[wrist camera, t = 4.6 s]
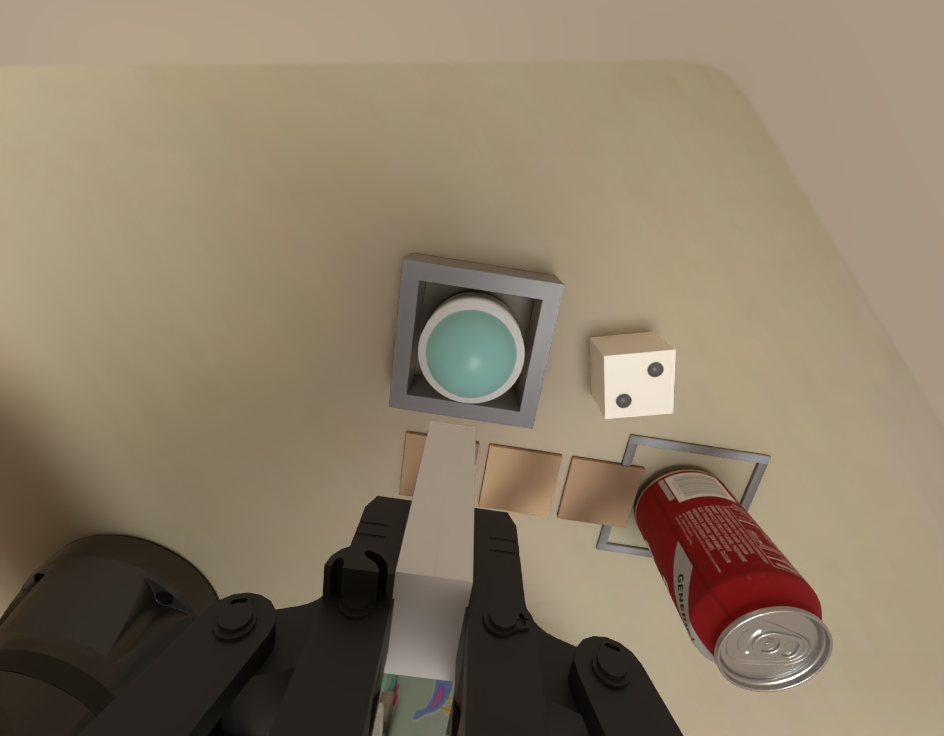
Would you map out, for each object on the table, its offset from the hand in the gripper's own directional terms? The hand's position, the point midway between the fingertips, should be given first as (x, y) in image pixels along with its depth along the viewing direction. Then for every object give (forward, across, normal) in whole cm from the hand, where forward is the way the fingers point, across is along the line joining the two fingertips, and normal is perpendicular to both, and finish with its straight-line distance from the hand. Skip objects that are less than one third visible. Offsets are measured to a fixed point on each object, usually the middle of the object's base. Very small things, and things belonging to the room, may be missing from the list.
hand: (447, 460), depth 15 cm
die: (+16, +11, 0) cm, 19 cm away
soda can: (+16, +18, -10) cm, 26 cm away
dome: (+14, +1, 0) cm, 14 cm away
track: (+15, +10, -10) cm, 21 cm away
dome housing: (+16, +1, 0) cm, 16 cm away
